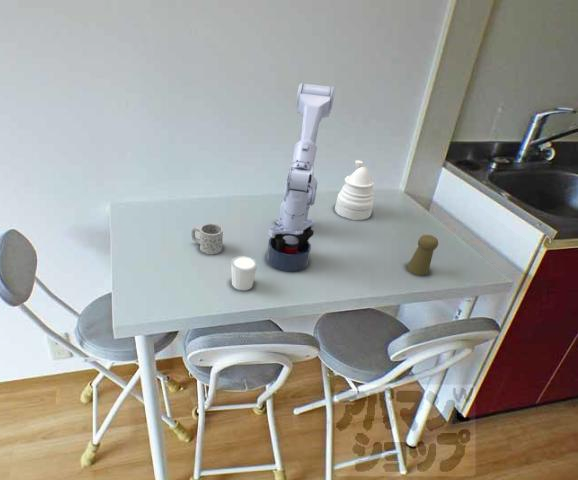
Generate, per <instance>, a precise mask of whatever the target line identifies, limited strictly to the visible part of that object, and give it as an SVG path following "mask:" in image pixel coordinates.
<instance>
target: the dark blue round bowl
mask: <svg viewBox="0 0 578 480" xmlns="http://www.w3.org/2000/svg"><path fill="white" fill-rule="evenodd" d="M282 236H283V237H284V236H295V237H297V234H296V235H295V234H282ZM311 249H312V244H311V243H310V241H309V240H308V241H307V243H306V244H305V246H304V248H303V250H302V252H299V251H298V250H297V254H295V255H291V254H285V253H281V252H279V251H277V250H275V249H274V247H273V243H272V240H271V238H270V237H269V239H268V243H267V252H266V261H267V263H268V265H270V266H271V267H273V268H274V269H276V270H279V271H282V272H288V273H290V272H292V273H294V272H299V271H302V270H304V269H305V268H306V267H307V266H308V265H309V261H310V255H311Z"/></svg>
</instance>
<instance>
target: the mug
mask: <svg viewBox="0 0 578 480" xmlns="http://www.w3.org/2000/svg"><path fill="white" fill-rule="evenodd" d="M196 232H198V233H199V238H197V237H196ZM223 235H224V228H223V227H222V225H219V224H217V223H205V224H203V225H201V226H193V227H192V228H191V240H192V241H194V242H195V243H197V244H198V245H199V250H200V252H202V253H204V254H206V255H217V254H219V253H221V252H222V251H223V237H224V236H223Z"/></svg>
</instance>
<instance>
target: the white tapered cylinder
mask: <svg viewBox="0 0 578 480" xmlns="http://www.w3.org/2000/svg"><path fill="white" fill-rule="evenodd" d="M230 265H231V266H230V267H231V268H230V269H231V270H230V271H231V285H232V287H233V288H234V289H236V290H239V291H248V290H251V289H252V288H253V286H254V280H255V277H256V271H257V268H258V262H257V260H256V259H254V258H253V257H251V256H248V255H239V256H236V257H233V258H232V259H231V262H230Z"/></svg>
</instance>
